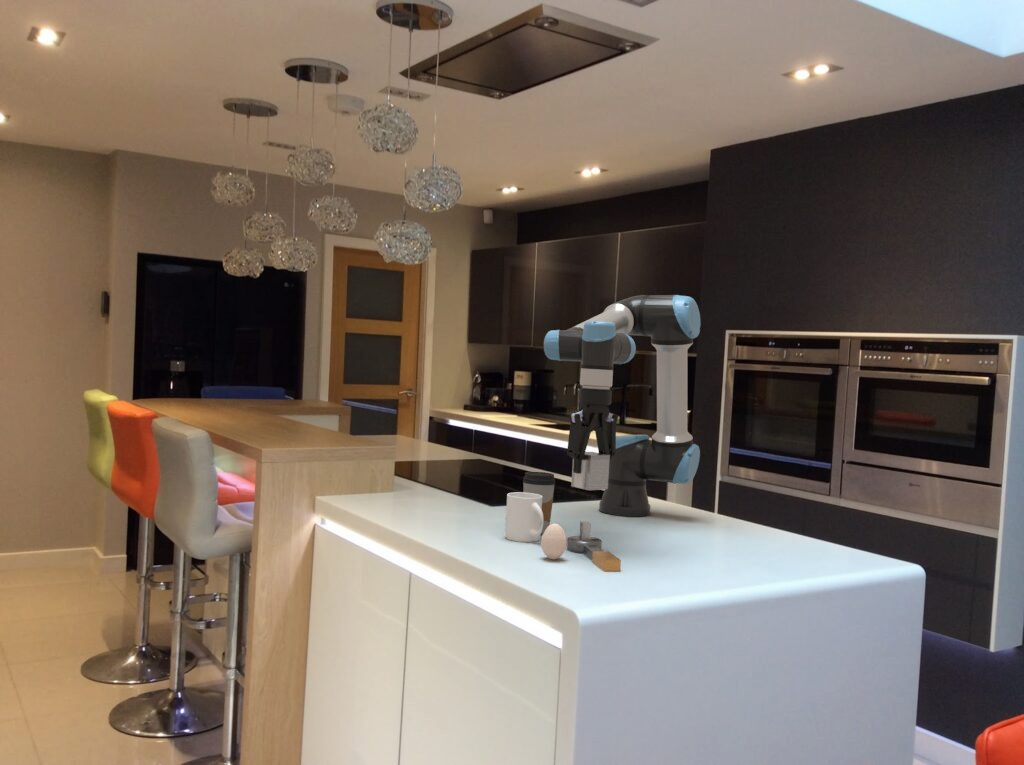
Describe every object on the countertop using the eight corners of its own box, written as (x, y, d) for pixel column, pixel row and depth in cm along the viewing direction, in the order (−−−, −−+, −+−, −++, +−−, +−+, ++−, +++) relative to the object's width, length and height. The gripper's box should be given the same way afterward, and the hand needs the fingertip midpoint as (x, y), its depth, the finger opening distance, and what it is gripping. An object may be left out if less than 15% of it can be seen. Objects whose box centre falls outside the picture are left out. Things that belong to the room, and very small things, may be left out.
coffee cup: (549, 537, 211) (553, 477, 211) (516, 534, 213) (520, 474, 212) (554, 531, 219) (558, 473, 219) (522, 528, 221) (526, 470, 221)
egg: (557, 563, 184) (560, 527, 184) (536, 559, 187) (538, 523, 187) (569, 559, 189) (572, 523, 189) (548, 555, 192) (550, 520, 191)
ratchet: (594, 546, 204) (596, 519, 204) (630, 571, 181) (632, 540, 181) (562, 546, 202) (564, 518, 202) (594, 571, 179) (596, 540, 179)
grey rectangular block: (589, 485, 203) (592, 451, 203) (607, 489, 198) (609, 454, 198) (571, 486, 199) (573, 452, 199) (588, 490, 194) (591, 455, 194)
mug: (526, 546, 199) (529, 501, 199) (497, 536, 209) (500, 493, 209) (555, 544, 204) (558, 499, 204) (526, 534, 214) (528, 491, 213)
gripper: (613, 387, 207) (607, 482, 207) (554, 385, 195) (548, 486, 196) (635, 389, 201) (629, 487, 202) (576, 387, 189) (570, 491, 190)
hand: (589, 486), depth 199 cm, fingers closed on grey rectangular block, 6 cm apart
